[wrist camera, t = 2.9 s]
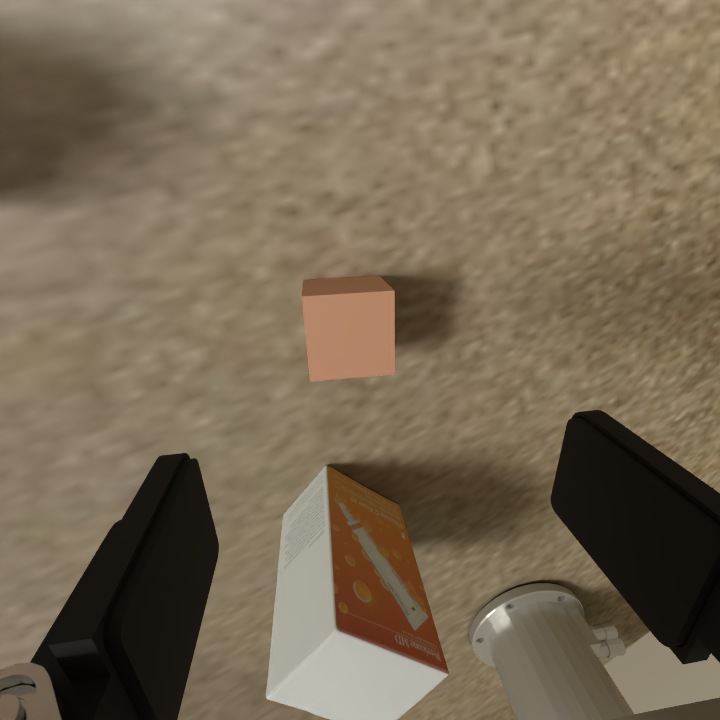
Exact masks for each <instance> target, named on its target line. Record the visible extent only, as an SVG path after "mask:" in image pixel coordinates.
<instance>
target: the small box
mask: <svg viewBox="0 0 720 720" xmlns="http://www.w3.org/2000/svg"><path fill="white" fill-rule="evenodd" d="M448 675H449V671H448V668H447V665H446V662H445V658H444V655H443V652H442V648H441V645H440V641H439V638H438V635H437V631H436V628H435V625H434V621H433V618H432V614H431V611H430V607H429V604H428V600H427V597H426V593H425V590H424V587H423V583H422V580H421V576H420V573H419V570H418V566H417V563H416V560H415V556H414V553H413V549H412V546H411V542H410V539H409V536H408V532H407V529H406V525H405V522H404V518H403V515H402V512H401V508H400V506H399V505H398V504H397V503H394V502H392V501H390V500H388V499H386V498H384V497H383V496H381V495H379V494H377V493H375V492H373V491H372V490H370V489H368V488H366V487H364V486H363V485H361V484H359V483H357V482H356V481H354V480H352V479H350V478H349V477H347V476H345V475H343V474H342V473H340V472H338V471H337V470H335V469H333V468H331V467H330V466H328V465H326V466H325V467H324V468H323V469H322V470H321V471H320V473H319V474H318V475H317V476H316V477H315V478H314V480H313V481H312V482H311V483H310V484H309V485H308V487H307V488H306V489H305V490H304V491H303V492H302V494H301V495H300V496H299V497H298V498H297V499H296V500H295V502H294V503H293V504H292V505H291V506H290V508H289V509H288V510H287V511H286V512H285V513H284V515H283V523H282V533H281V543H280V553H279V564H278V576H277V588H276V598H275V608H274V618H273V630H272V641H271V652H270V662H269V672H268V682H267V691H266V698H267V699H268V700H272V701H275V702H278V703H282V704H285V705H289V706H292V707H295V708H299V709H302V710H305V711H308V712H311V713H313V714H315V715H318V716H321V717H324V718H327V719H330V720H397V719H398V718H400V717H401V716H402V715H403V714H404V713H406V712H407V711H408V710H409V709H410V708H411V707H413V706H414V705H415V704H416V703H417V702H418V701H419V700H421V699H422V698H423V697H424V696H425V695H426V694H427V693H429V692H430V691H431V690H432V689H433V688H434V687H435V686H437V685H438V684H439V683H440V682H441V681H442V680H443V679H444V678H445V677H447V676H448Z"/></svg>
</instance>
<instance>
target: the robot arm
mask: <svg viewBox="0 0 720 720" xmlns="http://www.w3.org/2000/svg"><path fill="white" fill-rule="evenodd" d="M551 504H552V507H553V510H554V511H555V513H556V514H557V515H558V517H559V518H560V519H561V520H562V522H563V523H564V524H565V525H566V526H567V528H568V529H569V530H570V531H571V533H572V534H573V535H574V536H575V538H576V539H577V540H578V541H579V543H580V544H581V545H582V546H583V548H584V549H585V550H586V551H587V553H588V554H589V555H590V556H591V558H592V559H593V560H594V561H595V563H596V564H597V565H598V566H599V568H600V569H601V570H602V571H603V573H604V574H605V575H606V576H607V578H608V579H609V580H610V581H611V583H612V584H613V585H614V586H615V588H616V589H617V590H618V591H619V593H620V594H621V595H622V596H623V598H624V599H625V600H626V601H627V603H628V604H629V605H630V606H631V607H632V609H633V610H634V611H635V612H636V614H637V615H638V616H639V617H640V619H641V620H642V621H643V622H644V624H645V625H646V626H647V627H648V629H649V630H650V631H651V632H652V634H653V635H654V636H655V637H656V638H657V640H659V642H661V643H662V644H663V645H664V646H667V647H669V648H670V649H671V650H672V651H673V653H674V654H675V655H676V656H677V657H678V659H679V660H680V661H681V662H682V664H688V663H693V662H698V661H703V660H707V659H708V657H709V655H710V654H711V653H712V655H713V656H714V657H715V658H716V659H717V660H718V661H719V662H720V493H718V492H717V491H716V490H714V489H713V488H711V487H710V486H709V485H707V484H706V483H704V482H703V481H701V480H700V479H699V478H697V477H696V476H694V475H693V474H691V473H690V472H689V471H687V470H686V469H684V468H683V467H682V466H680V465H679V464H677V463H676V462H674V461H673V460H672V459H670V458H669V457H667V456H666V455H664V454H663V453H662V452H660V451H659V450H657V449H656V448H655V447H653V446H652V445H650V444H649V443H647V442H646V441H645V440H643V439H642V438H640V437H639V436H637V435H636V434H635V433H633V432H632V431H630V430H629V429H628V428H626V427H625V426H623V425H622V424H620V423H619V422H618V421H616V420H615V419H613V418H612V417H610V416H609V415H608V414H606V413H605V412H603V411H601V410H593V411H584V412H577V413H575V414H574V415H573V417H572V419H570V420H569V421H568V423H567V426H566V431H565V435H564V440H563V444H562V449H561V453H560V458H559V462H558V467H557V471H556V476H555V481H554V485H553V490H552V494H551ZM218 552H219V544H218V538H217V534H216V530H215V526H214V523H213V519H212V515H211V511H210V507H209V503H208V499H207V495H206V491H205V487H204V483H203V479H202V475H201V471H200V467H199V463H198V461H197V459H195V458H194V459H190V457H189V455H188V454H186V453H182V454H172V455H162V456H159V457H158V459H157V460H156V462H155V463H154V465H153V467H152V468H151V470H150V472H149V474H148V475H147V477H146V479H145V480H144V482H143V484H142V485H141V487H140V489H139V491H138V492H137V494H136V496H135V497H134V499H133V501H132V503H131V504H130V506H129V508H128V509H127V511H126V513H125V515H124V516H123V518H122V520H119V521H118V522H116V523H115V524H114V525H113V526H112V528H111V529H110V530H109V532H108V534H107V535H106V537H105V539H104V540H103V542H102V544H101V545H100V547H99V549H98V550H97V552H96V554H95V555H94V557H93V559H92V560H91V562H90V564H89V565H88V567H87V569H86V570H85V572H84V574H83V575H82V577H81V579H80V580H79V582H78V584H77V585H76V587H75V589H74V590H73V592H72V594H71V595H70V597H69V599H68V600H67V602H66V604H65V605H64V607H63V609H62V610H61V612H60V614H59V615H58V617H57V619H56V620H55V622H54V624H53V625H52V627H51V628H50V630H49V632H48V633H47V635H46V637H45V638H44V640H43V642H42V643H41V645H40V647H39V648H38V650H37V652H36V653H35V655H34V657H33V658H32V660H31V662H30V663H20V664H14V665H12V666H9V667H6V668H3V669H0V720H177V718H178V714H179V710H180V706H181V702H182V698H183V694H184V690H185V686H186V682H187V678H188V674H189V670H190V666H191V662H192V658H193V654H194V650H195V646H196V642H197V638H198V634H199V630H200V626H201V622H202V618H203V614H204V610H205V606H206V602H207V598H208V594H209V591H210V587H211V583H212V579H213V575H214V571H215V567H216V563H217V559H218ZM469 637H470V643H471V645H472V648H473V651H474V653H475V655H476V656H477V658H478V659H479V660H481V661H482V662H483V663H485V664H487V665H489V666H492V667H496V669H497V672H498V674H499V677H500V679H501V682H502V684H503V686H504V689H505V691H506V694H507V696H508V699H509V701H510V704H511V706H512V709H513V711H514V714H515V716H516V719H517V720H720V698H716V699H710V700H705V701H701V702H695V703H691V704H685V705H680V706H675V707H670V708H664V709H659V710H654V711H649V712H644V713H639V714H634V713H633V711H632V710H631V708H630V707H629V705H628V704H627V702H626V701H625V699H624V697H623V696H622V694H621V692H620V691H619V689H618V688H617V686H616V685H615V683H614V682H613V680H612V678H611V677H610V675H609V674H608V672H607V671H606V669H605V668H604V666H603V664H602V663H601V661H600V660H599V658H603V657H608V658H610V657H616V656H621V655H624V654H625V647H624V644H623V642H622V640H621V638H620V637H619V636H618V632H617V629H616V627H615V626H614V625H613V624H612V623H610V622H608V623H602V624H598V625H594V626H592V625H591V624H589V623H587V622H586V621H585V619H584V609H583V606H582V605H581V603H580V601H579V600H578V598H577V597H576V596H575V595H574V593H573V592H572V591H570V590H569V589H567V588H566V587H563V586H560V585H557V584H550V583H535V584H529V585H524V586H521V587H517V588H514V589H512V590H510V591H507V592H505V593H503V594H501V595H500V596H498V597H496V598H495V599H493V600H492V601H491V602H489V603H488V604H487V605H486V606H485V607H484V608H483V609H482V610H481V611H480V612H479V613H478V615H477V616H476V617H475V619H474V621H473V623H472V625H471V628H470V633H469Z"/></svg>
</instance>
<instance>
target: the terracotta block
mask: <svg viewBox="0 0 720 720" xmlns="http://www.w3.org/2000/svg"><path fill="white" fill-rule="evenodd" d="M302 304H303V314H304V324H305V334H306V344H307V355H308V365H309V375H310V382H311V381H322V380H334V379H345V378H357V377H368V376H380V375H391V374H395V291H394V290H393V289H392V288H391V287H390V286H389V285H388V284H387V283H386V282H385V281H384V280H383V279H382V278H381V277H380V276H362V277H345V278H329V279H312V280H303V289H302Z"/></svg>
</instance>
